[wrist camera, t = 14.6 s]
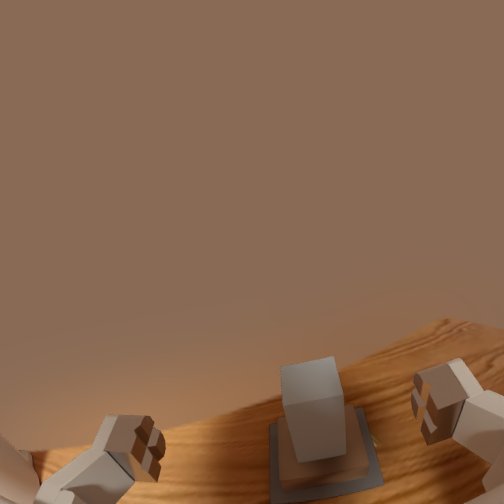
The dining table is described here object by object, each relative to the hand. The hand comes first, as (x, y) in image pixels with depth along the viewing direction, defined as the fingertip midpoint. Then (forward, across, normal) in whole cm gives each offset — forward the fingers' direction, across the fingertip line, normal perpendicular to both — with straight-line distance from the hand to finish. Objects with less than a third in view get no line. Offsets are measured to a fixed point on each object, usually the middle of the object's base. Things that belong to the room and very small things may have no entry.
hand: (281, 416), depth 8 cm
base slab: (+14, -1, +26) cm, 29 cm away
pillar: (+14, -1, +23) cm, 27 cm away
